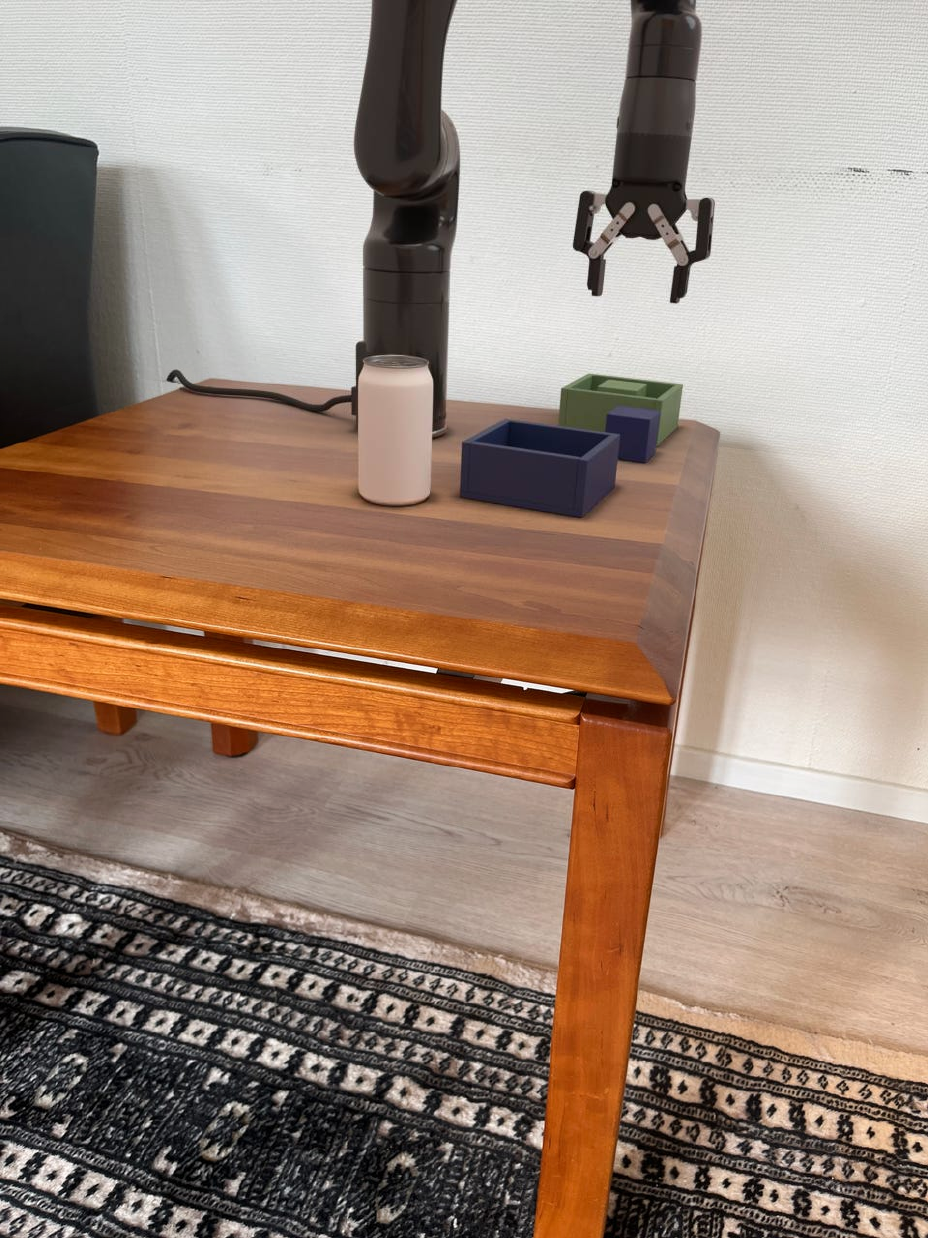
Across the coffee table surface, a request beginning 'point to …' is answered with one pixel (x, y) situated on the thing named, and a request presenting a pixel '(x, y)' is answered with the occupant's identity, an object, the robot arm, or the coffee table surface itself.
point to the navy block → (634, 432)
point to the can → (395, 429)
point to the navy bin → (539, 466)
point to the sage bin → (617, 403)
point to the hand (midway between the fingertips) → (635, 299)
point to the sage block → (623, 388)
